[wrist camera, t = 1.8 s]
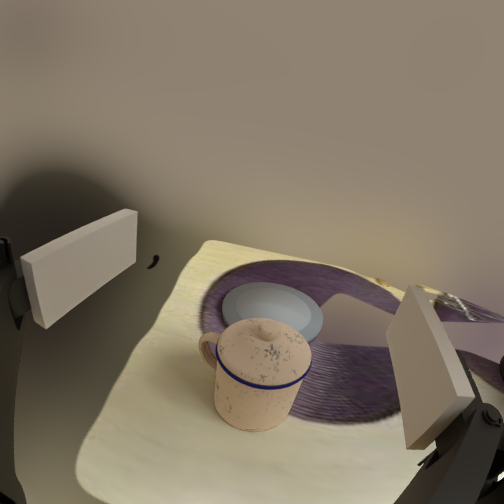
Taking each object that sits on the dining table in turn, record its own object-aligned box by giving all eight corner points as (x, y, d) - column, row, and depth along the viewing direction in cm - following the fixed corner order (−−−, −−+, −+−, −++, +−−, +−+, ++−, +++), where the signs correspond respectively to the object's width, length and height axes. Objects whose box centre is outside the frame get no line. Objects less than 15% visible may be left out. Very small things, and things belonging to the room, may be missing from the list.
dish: (321, 298, 51) (323, 293, 51) (320, 359, 37) (322, 353, 36) (236, 280, 53) (237, 274, 53) (207, 334, 39) (208, 327, 38)
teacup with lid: (303, 393, 31) (333, 320, 26) (268, 448, 24) (296, 381, 19) (221, 352, 36) (229, 276, 31) (175, 393, 29) (170, 314, 24)
